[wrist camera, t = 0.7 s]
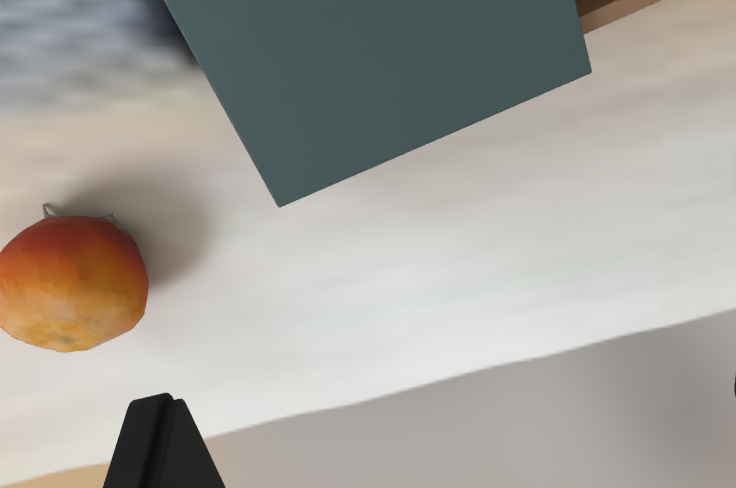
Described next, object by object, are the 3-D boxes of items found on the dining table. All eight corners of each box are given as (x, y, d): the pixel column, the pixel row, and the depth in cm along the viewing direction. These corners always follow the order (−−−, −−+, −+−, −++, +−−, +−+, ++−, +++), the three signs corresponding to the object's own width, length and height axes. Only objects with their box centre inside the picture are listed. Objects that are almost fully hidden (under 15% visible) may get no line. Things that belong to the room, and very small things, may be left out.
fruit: (135, 171, 34) (119, 306, 31) (166, 245, 41) (156, 362, 37) (-22, 177, 34) (-59, 315, 30) (36, 250, 41) (12, 371, 37)
